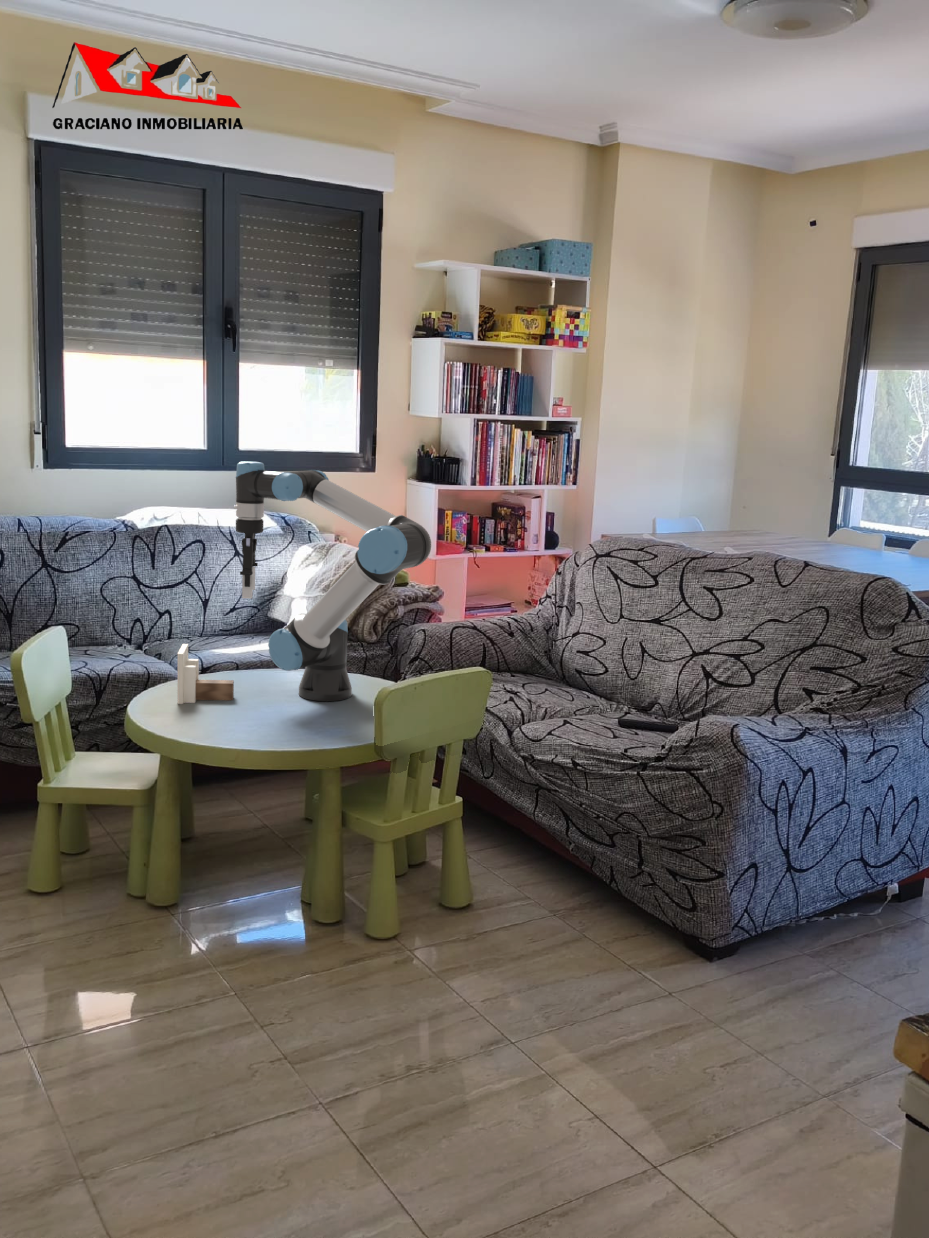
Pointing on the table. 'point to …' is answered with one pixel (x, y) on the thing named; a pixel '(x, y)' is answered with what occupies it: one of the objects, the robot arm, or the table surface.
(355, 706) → the table surface
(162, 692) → the table surface
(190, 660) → the white twin-rail base
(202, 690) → the brown rectangular block
